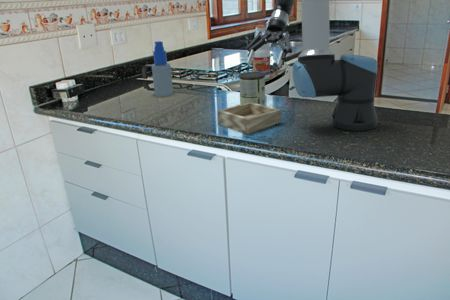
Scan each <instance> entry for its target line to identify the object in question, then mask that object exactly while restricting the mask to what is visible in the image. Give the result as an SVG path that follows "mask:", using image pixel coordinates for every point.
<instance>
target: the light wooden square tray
mask: <svg viewBox="0 0 450 300" xmlns="http://www.w3.org/2000/svg"><path fill="white" fill-rule="evenodd" d="M278 123H280V124H281V123H282V109H280V108H276V107H271V106H267V105H265V106H264V105H260V104H256V103H252V102H248V103H244V104H241V105H240V104H238V105H234V106H231V107H226V108H222V109H219V110H217V124H218V125H220V126H223V127H226V128H229V129H231V130H234V131H237V132H240V133H243V134H246V135H250V134H254V133H256V132H259V130H260V131H261V130H264V129H268V128H271V127H273V125H274V126H276V125H275V124H277V125H279V124H278ZM270 126H271V127H270ZM267 127H268V128H267Z"/></svg>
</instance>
